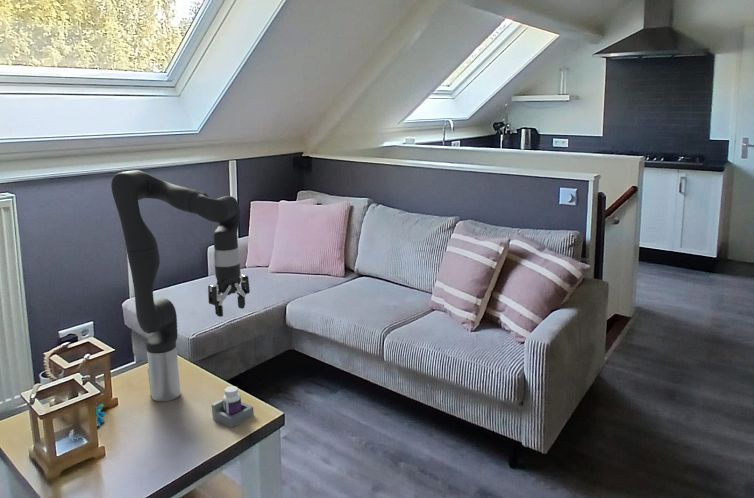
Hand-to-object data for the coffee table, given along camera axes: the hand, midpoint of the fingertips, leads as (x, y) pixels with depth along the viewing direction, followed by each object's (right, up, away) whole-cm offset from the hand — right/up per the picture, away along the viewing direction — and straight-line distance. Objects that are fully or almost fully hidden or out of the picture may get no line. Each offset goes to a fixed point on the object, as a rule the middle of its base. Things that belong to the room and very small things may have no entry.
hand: (230, 312), depth 192 cm
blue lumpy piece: (-42, -34, -2) cm, 55 cm away
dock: (+1, -33, +1) cm, 33 cm away
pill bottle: (+1, -33, +1) cm, 33 cm away
